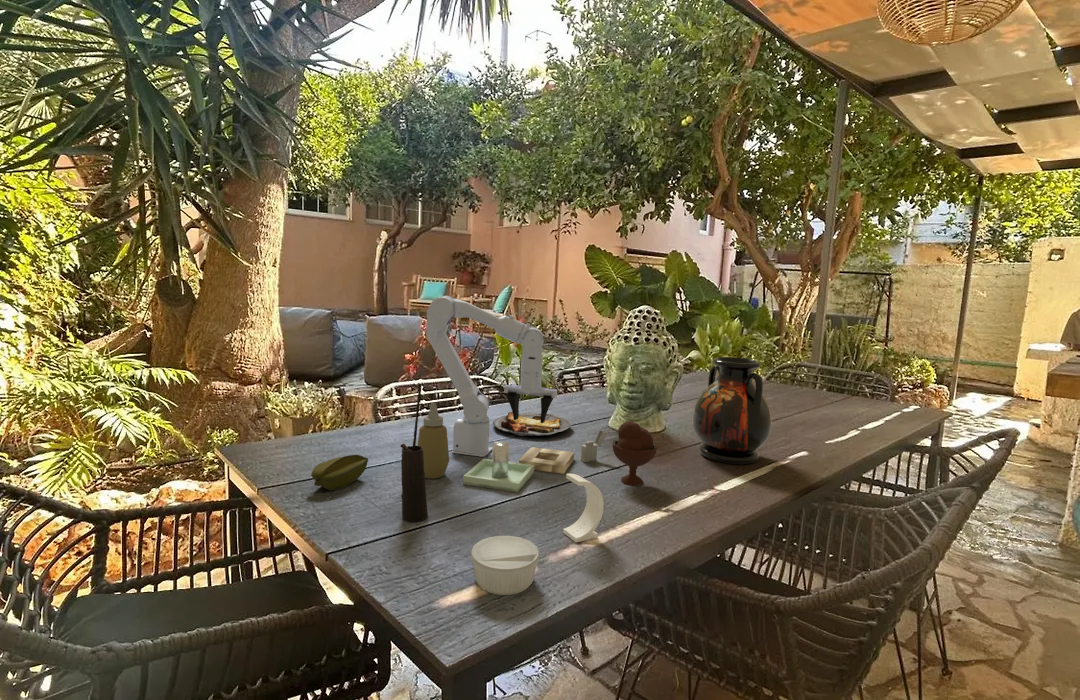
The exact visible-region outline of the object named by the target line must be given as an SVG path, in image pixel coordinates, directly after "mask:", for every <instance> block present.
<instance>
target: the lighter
mask: <svg viewBox="0 0 1080 700" xmlns="http://www.w3.org/2000/svg"><path fill="white" fill-rule="evenodd" d="M606 436H607V431H604V430H603V429H599V431H598V433H597V435H596V438H595V440H594V441H593V440H589V441H588V440H587V441H585V443H584V444H582V445H581V453H580V454H581V455H580V461H581V462H582V463H583V462H584V463H587V462H588V463H589V462H595V461H597V457H598V455H597V454H598V447H602V445H603V443H604V441H605V439H606Z"/></svg>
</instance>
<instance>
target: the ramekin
mask: <svg viewBox="0 0 1080 700" xmlns="http://www.w3.org/2000/svg"><path fill="white" fill-rule="evenodd" d="M470 559H471V561H472V567H473V573H474V579H475V581H476V582H475V583H477V585H478V586H479V587H480V588H481V589H482V590H484V591H485V592H487V593H490V594H492V595H498V596H511V595H516V594H520V593H522V592H525V590H527V589H528V588H529V587H530V586H531V584H532V583H533V581H534V579H535V574H536V568H537V564H538V562H539V559H540V551H539V548H538V546H537V545H535V543H534V542H532V541H530V540H529V539H525V538H523V537H519V536H513V535H496V536H495V535H494V536H490V537H486V538H483V539H481V540H479V541H478V542H476V543H475V544H474V545H473V547H472V549H471V552H470Z"/></svg>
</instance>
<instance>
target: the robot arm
mask: <svg viewBox="0 0 1080 700" xmlns="http://www.w3.org/2000/svg"><path fill="white" fill-rule="evenodd" d="M453 318H455V319H460V318H468V319H471V320H473V321H475V322H478V323H480V324H482V325H485V326H487V327H490V328H493V329H494V330H495V333H496V335H497V336H499V337H502V338H504V339H505V340H509V341H510V342H513V343H515V344H517V345H519V344H521V345H522V354H521V360H520V382H519V383H520V384H518V385H516V384H515V385H514V384H511V385H510V384H505V385H504V389H503V390H504V391H503V393H504V394H507V395H506V399H507V402H508V404H509V405H510V409H511V412H513V417H514V420H517V419H518V416H519V414H520V412H519V411H520V410H519V409H520V408H519V407H520V397H521V395H526V396H539V397H541V398H540V407H541V409H540V411H541V413H540V414H541V423H544V422H545V418H546V414H548V411H549V409H550V406H551V404H552V402H553V400H554V399H555V398H557V397H558V389H553V388H547V387H542V377H543V376H542V375H543V374H542V373H543V345H544V342H545V340H544V335H543V333H542V331H541V330H540V329H539V328H538V327H536V326H531V324H530V323H529V322H527V323H525V322H521V321H520V320H517V319H515V316H514V315H512V314H510V315H509V316H508V315H506V314H505V315H502V316H500V317H499V316H497V315H494V314H492V313H490V312H488V311H486V310H484V309H482V308H480V307H478V306H476V305H474V304H472V303H470V302H467V301H465V300H461V299H459V298H453V296H451V295H450V296H449V295H442V296H439V297H436V298H435V299H433V300H432V301H431V302H430V304H429V306H428V309H427V310H426V332H425V333H426V334H425V335H426V338H427V340H428V342H429V343H430V345H431V347H432V349H433V351H434V352H435V355H436V357H438V360H439V361H440V363H441V365H442V366H443V368H444V370H445V372H446V374H447V376H448V377H449V379H450V381H451V383H452V384H453V386H454V388H455V389H456V391H457V393H458V398H459V401H460V404H461V406H462V411H463V415H464V416H463V417H462V418H457V419H456V420H455V422H454V425H453V430H452V431H453V432H452V435H453V437H452V451H451V453H453V454H461V455H465V456H466V455H467V456H474V457H483V458H484V457H486V456H487V455H488V454H489V453H490V452H492V450H493V446H489V445H490V443H489V442H490V417H489V416H488V410H489V409H490V400H489V398H488V397H487V395H485V394H483V393H482V392H481V391H480V389H479V387H478V386H477V385H476V384H475V383H474V381H473V380H472V378H471V376H470V374H469V373H468V371H467V368H466V367H465V365H464V363H463V361H462V359H461V357H459V356H460V355H459V354H458V352H457V350H456V348H455V347H454V345H453V344H452V342H451V340H450V338H449V336H448V335H447V332H448V329H449V326H450V322H451V321H452V320H453Z"/></svg>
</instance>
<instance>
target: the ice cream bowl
mask: <svg viewBox="0 0 1080 700" xmlns="http://www.w3.org/2000/svg"><path fill="white" fill-rule="evenodd" d="M617 430H618V431H617V432H618V433H617V435H618V439H615V440H612V450H613V451H612V452H613V454H614V455H615V457H616V458H617V459H618V460H619V461H620V462H621V463H622V464H624V465H626V466H628V468H629V472H628V474H626V475H625V476H624V475H623V476H622V477H621V481H620V482H621V483H622V484H625V485H627V486H642V485H643V484H644V481H643V479H642V478H641V477H640V476H638V475H637V469H638V467H641V466H644V465H645V464H647V463H649V462H651V461H652V460H653V459H654V457H656V453H657V450H658V446H657V444H656V443H654V438H653V436H652V434H651V432H650V431H649V430H648V429H645V427H644V428H643V426H642V427H641V426H640V425H639V423H637V422H634V421H625V422H623V423H621V424H620V426H619V427H618V429H617Z"/></svg>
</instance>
